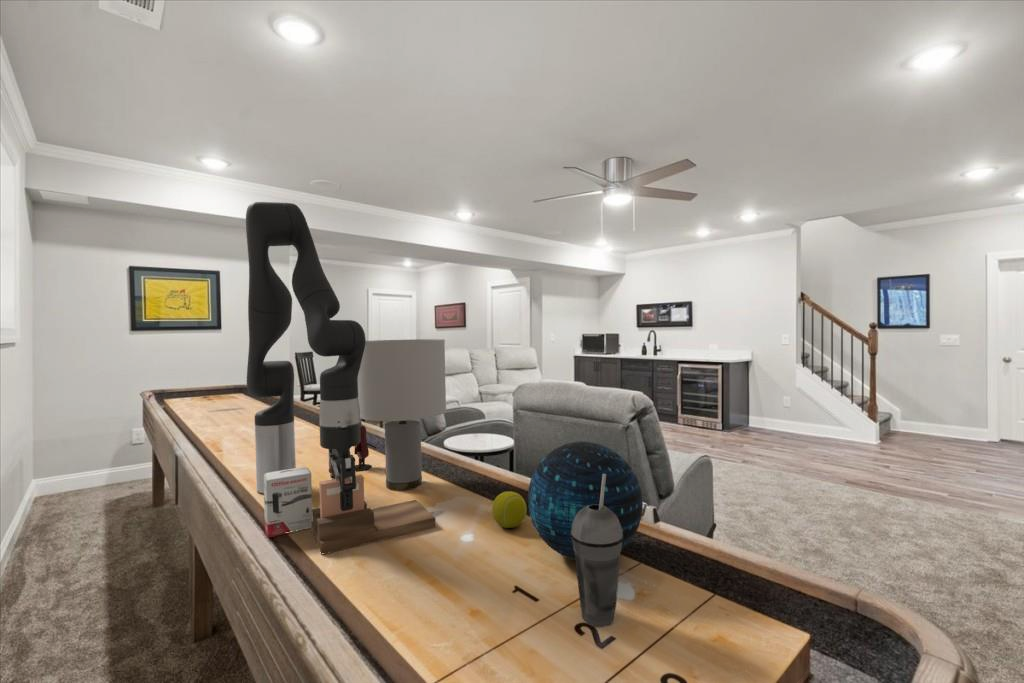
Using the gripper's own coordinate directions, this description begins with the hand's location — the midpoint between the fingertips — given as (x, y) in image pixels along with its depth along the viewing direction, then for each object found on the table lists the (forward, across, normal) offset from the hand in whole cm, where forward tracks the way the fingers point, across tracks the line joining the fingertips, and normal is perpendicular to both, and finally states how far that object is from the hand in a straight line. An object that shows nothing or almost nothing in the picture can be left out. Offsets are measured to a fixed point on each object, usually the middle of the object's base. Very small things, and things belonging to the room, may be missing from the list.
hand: (342, 502), depth 93 cm
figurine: (+7, -46, +14) cm, 49 cm away
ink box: (+7, -10, -9) cm, 15 cm away
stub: (+4, 0, 0) cm, 4 cm away
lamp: (+7, -24, +20) cm, 32 cm away
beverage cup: (+7, +47, +25) cm, 54 cm away
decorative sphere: (+7, +32, +35) cm, 48 cm away
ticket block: (+7, 0, +6) cm, 9 cm away
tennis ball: (+7, +14, +30) cm, 34 cm away
